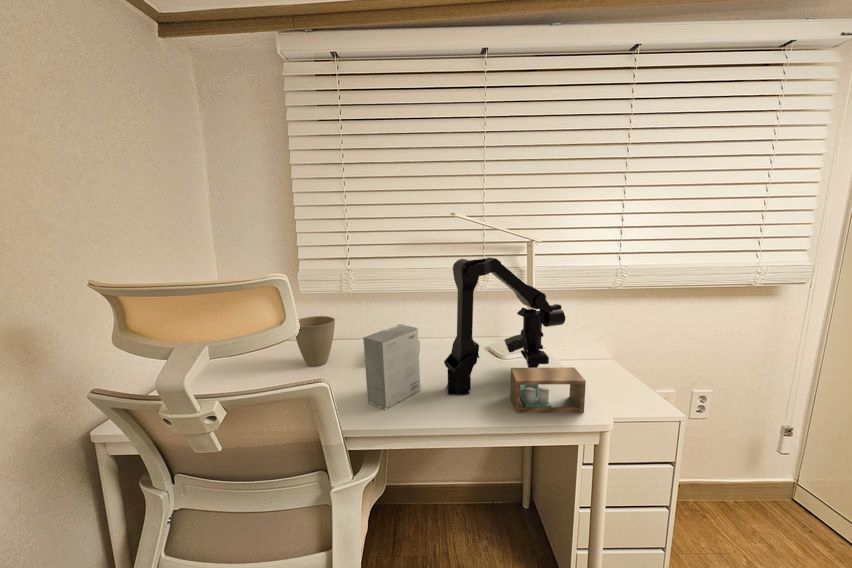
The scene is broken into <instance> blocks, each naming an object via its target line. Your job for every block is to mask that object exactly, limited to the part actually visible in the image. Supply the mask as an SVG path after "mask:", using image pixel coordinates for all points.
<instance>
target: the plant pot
mask: <svg viewBox="0 0 852 568" xmlns="http://www.w3.org/2000/svg"><path fill="white" fill-rule="evenodd" d="M299 323H300V329H299V333H298V335H297V336H296V337H295V339H296V343H297V346H298V349H299V351H300V354H301V356H302V358H303V360H304V363H305V364H306V366H308V367H320V365H321V366H324V365H325V364H327V362H328V360H329V356H330V353H331V349H332V346H333V341H334V334H335V326H336V325H335V324H336V318H334V317H331V316H325V315H315V316H308V317H301V318H299ZM323 364H324V365H323Z"/></svg>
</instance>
